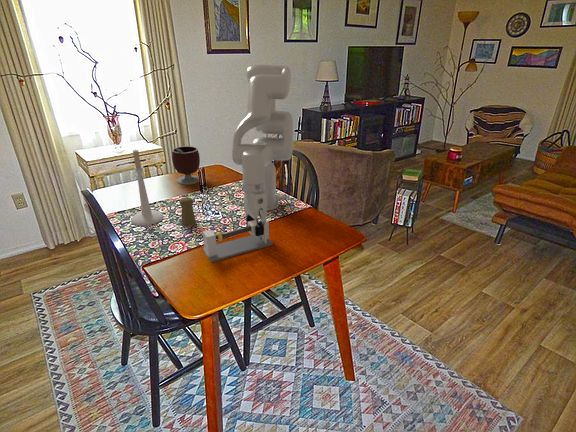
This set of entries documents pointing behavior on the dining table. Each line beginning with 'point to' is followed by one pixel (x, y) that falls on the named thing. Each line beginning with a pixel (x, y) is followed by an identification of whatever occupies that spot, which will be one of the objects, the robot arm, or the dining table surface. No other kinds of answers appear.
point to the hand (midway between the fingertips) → (255, 230)
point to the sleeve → (252, 227)
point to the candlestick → (144, 200)
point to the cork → (187, 212)
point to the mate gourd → (186, 163)
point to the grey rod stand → (233, 243)
